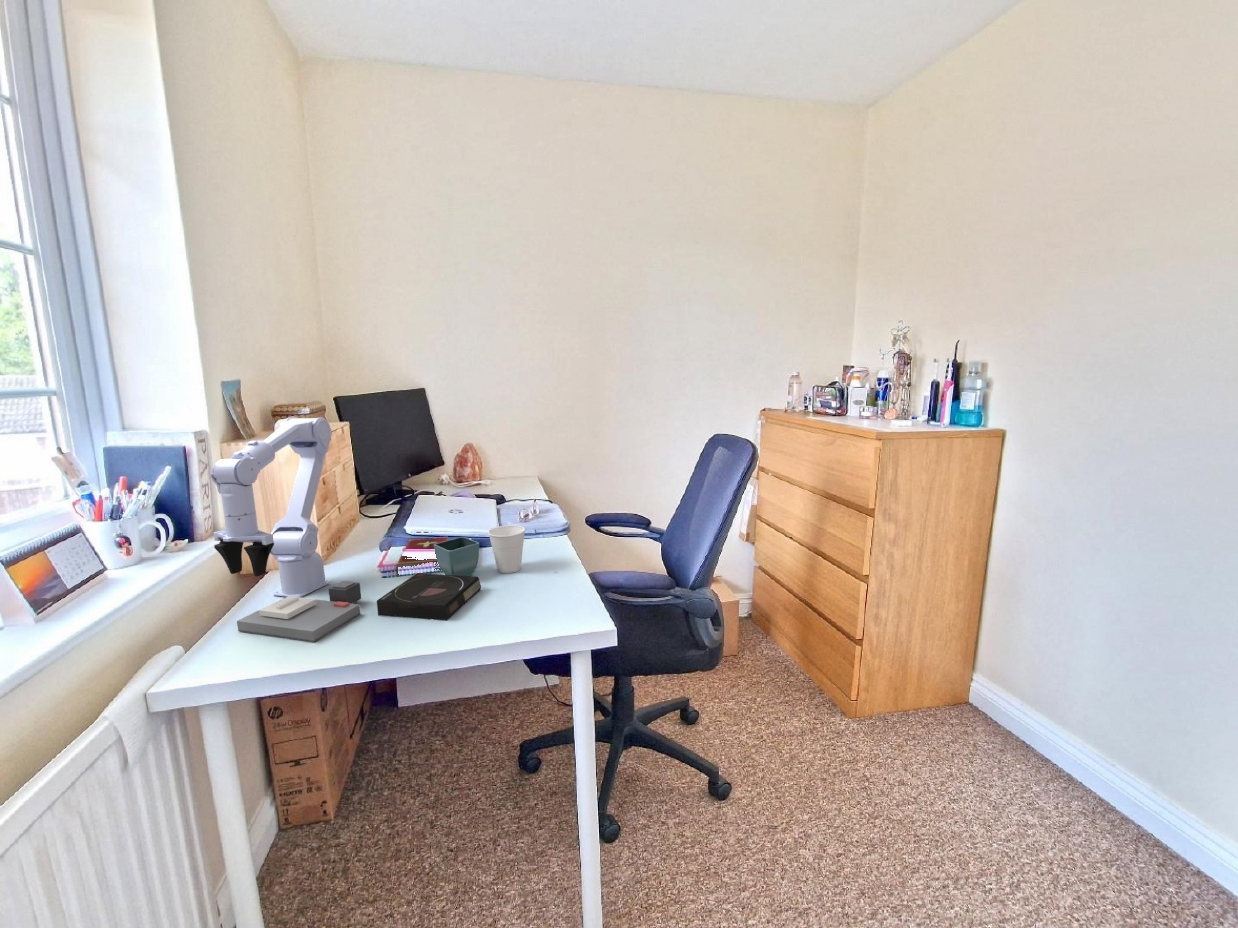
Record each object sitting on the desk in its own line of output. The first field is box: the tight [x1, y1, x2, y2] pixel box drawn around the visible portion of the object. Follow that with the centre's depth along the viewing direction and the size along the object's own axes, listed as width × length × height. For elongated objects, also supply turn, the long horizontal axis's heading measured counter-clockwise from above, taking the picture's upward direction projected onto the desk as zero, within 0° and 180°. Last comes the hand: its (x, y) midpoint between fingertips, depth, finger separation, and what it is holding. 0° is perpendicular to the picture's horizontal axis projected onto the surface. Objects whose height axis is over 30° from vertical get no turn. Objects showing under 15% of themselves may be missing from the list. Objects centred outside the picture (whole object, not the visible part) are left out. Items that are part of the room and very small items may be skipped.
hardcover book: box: [395, 537, 450, 577], centre depth 158 cm, size 12×21×4 cm, turn 12°
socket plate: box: [236, 597, 362, 643], centre depth 121 cm, size 13×20×3 cm, turn 74°
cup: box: [487, 524, 527, 574], centre depth 148 cm, size 10×10×11 cm
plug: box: [328, 580, 362, 604], centre depth 129 cm, size 5×5×5 cm
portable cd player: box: [376, 573, 482, 621], centre depth 130 cm, size 16×17×4 cm
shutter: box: [259, 596, 316, 619], centre depth 121 cm, size 8×8×2 cm
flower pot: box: [434, 536, 480, 576], centre depth 145 cm, size 9×9×9 cm
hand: (248, 573), depth 122 cm, fingers open, 6 cm apart
